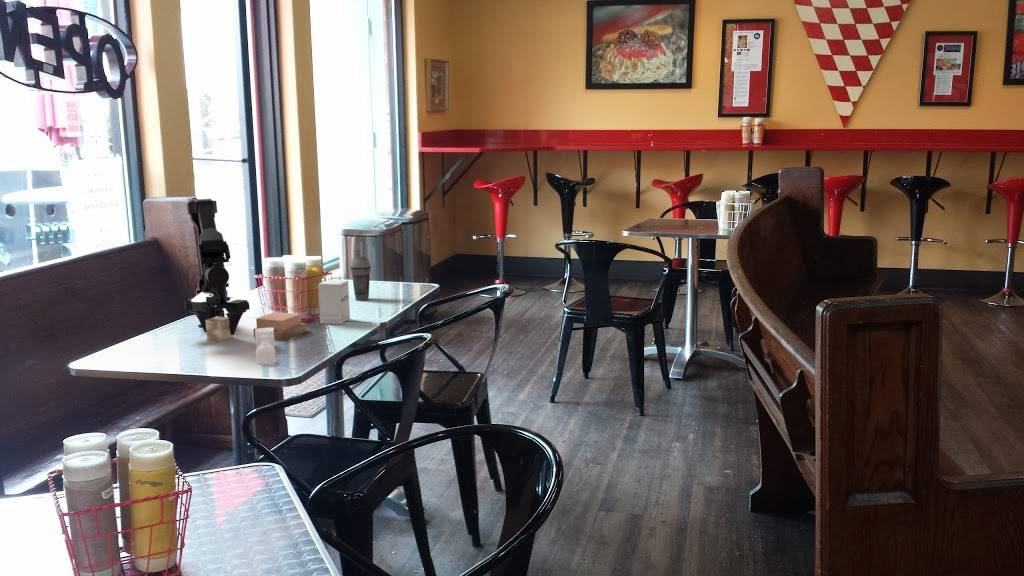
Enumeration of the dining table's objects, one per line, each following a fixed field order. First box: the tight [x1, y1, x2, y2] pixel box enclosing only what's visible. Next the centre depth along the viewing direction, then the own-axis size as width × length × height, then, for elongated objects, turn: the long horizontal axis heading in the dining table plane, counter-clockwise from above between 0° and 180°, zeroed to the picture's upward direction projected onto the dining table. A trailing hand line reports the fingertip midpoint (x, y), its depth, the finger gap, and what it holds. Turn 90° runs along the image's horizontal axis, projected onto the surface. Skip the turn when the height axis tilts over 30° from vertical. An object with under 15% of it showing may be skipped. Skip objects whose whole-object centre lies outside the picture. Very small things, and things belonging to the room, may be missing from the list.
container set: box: [254, 327, 277, 365], centre depth 241 cm, size 20×5×6 cm, turn 16°
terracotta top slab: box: [255, 311, 301, 331], centre depth 263 cm, size 9×9×3 cm
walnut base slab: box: [253, 322, 308, 341], centre depth 264 cm, size 11×11×3 cm
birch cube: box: [206, 316, 233, 342], centre depth 260 cm, size 5×5×6 cm
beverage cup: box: [349, 242, 372, 302], centre depth 310 cm, size 7×7×20 cm
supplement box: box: [317, 279, 351, 325], centre depth 278 cm, size 7×7×13 cm
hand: (219, 333), depth 260 cm, fingers open, 9 cm apart
